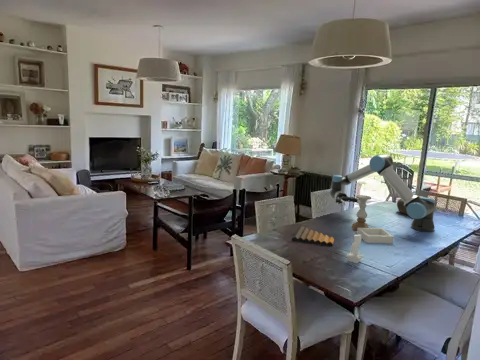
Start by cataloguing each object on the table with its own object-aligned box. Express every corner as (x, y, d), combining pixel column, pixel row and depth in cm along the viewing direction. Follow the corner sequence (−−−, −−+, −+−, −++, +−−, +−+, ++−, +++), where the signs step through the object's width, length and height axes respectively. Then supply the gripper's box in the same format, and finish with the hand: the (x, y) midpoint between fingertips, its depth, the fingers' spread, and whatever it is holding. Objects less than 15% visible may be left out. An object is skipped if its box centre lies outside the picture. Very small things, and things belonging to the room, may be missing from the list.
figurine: (344, 262, 190) (347, 235, 188) (351, 257, 197) (353, 231, 195) (358, 265, 186) (360, 238, 183) (364, 260, 193) (366, 234, 190)
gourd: (431, 210, 301) (431, 190, 296) (428, 221, 281) (428, 201, 276) (399, 208, 314) (399, 189, 310) (394, 218, 294) (394, 199, 290)
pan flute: (299, 230, 245) (292, 241, 221) (299, 225, 244) (292, 236, 221) (335, 235, 237) (332, 247, 213) (336, 230, 236) (333, 242, 213)
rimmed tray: (381, 234, 239) (382, 228, 238) (392, 243, 222) (393, 236, 221) (356, 234, 238) (357, 227, 237) (366, 242, 221) (367, 236, 221)
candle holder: (369, 232, 242) (373, 199, 238) (353, 231, 245) (356, 197, 240) (367, 227, 253) (370, 195, 249) (351, 226, 255) (354, 194, 251)
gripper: (355, 201, 282) (368, 208, 261) (325, 201, 278) (336, 208, 257) (356, 192, 280) (369, 198, 260) (326, 192, 277) (337, 198, 256)
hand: (353, 203), depth 258 cm, fingers open, 13 cm apart
